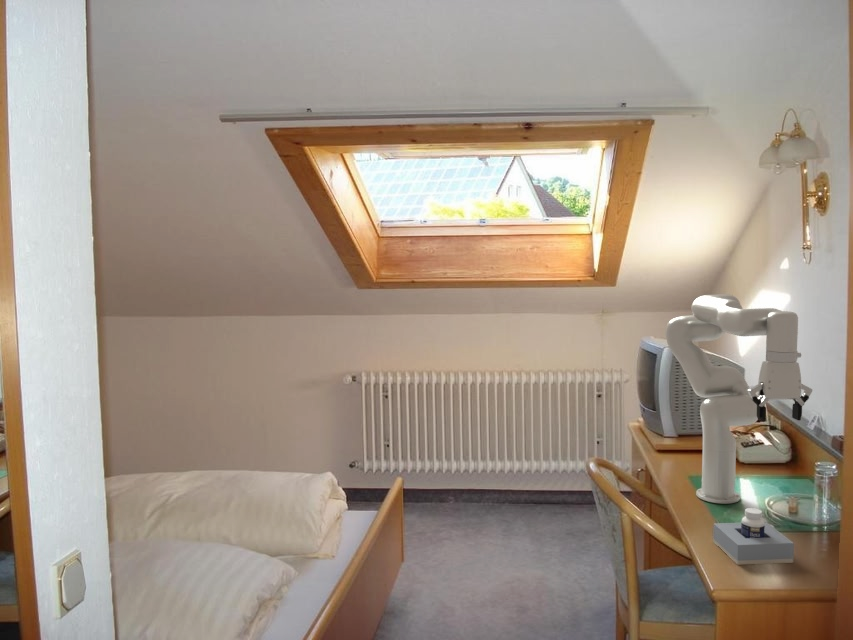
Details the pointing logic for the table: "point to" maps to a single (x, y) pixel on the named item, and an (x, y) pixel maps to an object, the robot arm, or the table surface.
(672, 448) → the table surface
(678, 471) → the table surface
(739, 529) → the socket block
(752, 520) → the pill bottle
